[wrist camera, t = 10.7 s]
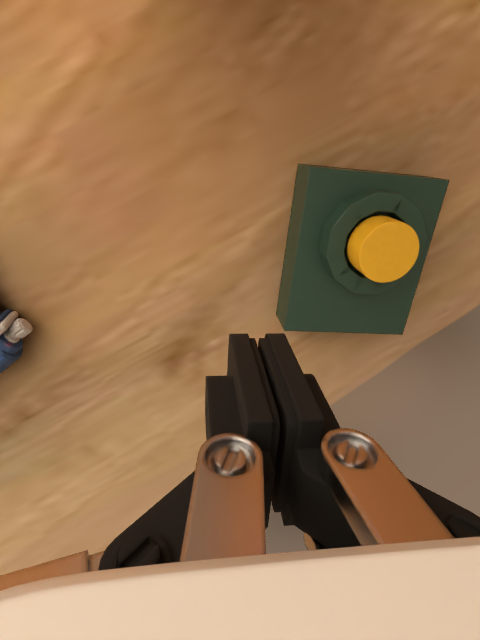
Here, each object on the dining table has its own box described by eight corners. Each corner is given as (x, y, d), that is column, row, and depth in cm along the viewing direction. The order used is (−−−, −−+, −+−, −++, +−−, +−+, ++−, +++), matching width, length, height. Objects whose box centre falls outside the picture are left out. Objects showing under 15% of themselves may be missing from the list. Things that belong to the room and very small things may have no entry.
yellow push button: (353, 212, 25) (367, 219, 23) (410, 217, 26) (427, 223, 24) (341, 271, 27) (352, 281, 25) (394, 274, 27) (409, 284, 25)
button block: (297, 163, 28) (318, 168, 23) (424, 176, 29) (466, 182, 25) (275, 314, 33) (289, 342, 28) (384, 318, 34) (414, 345, 30)
